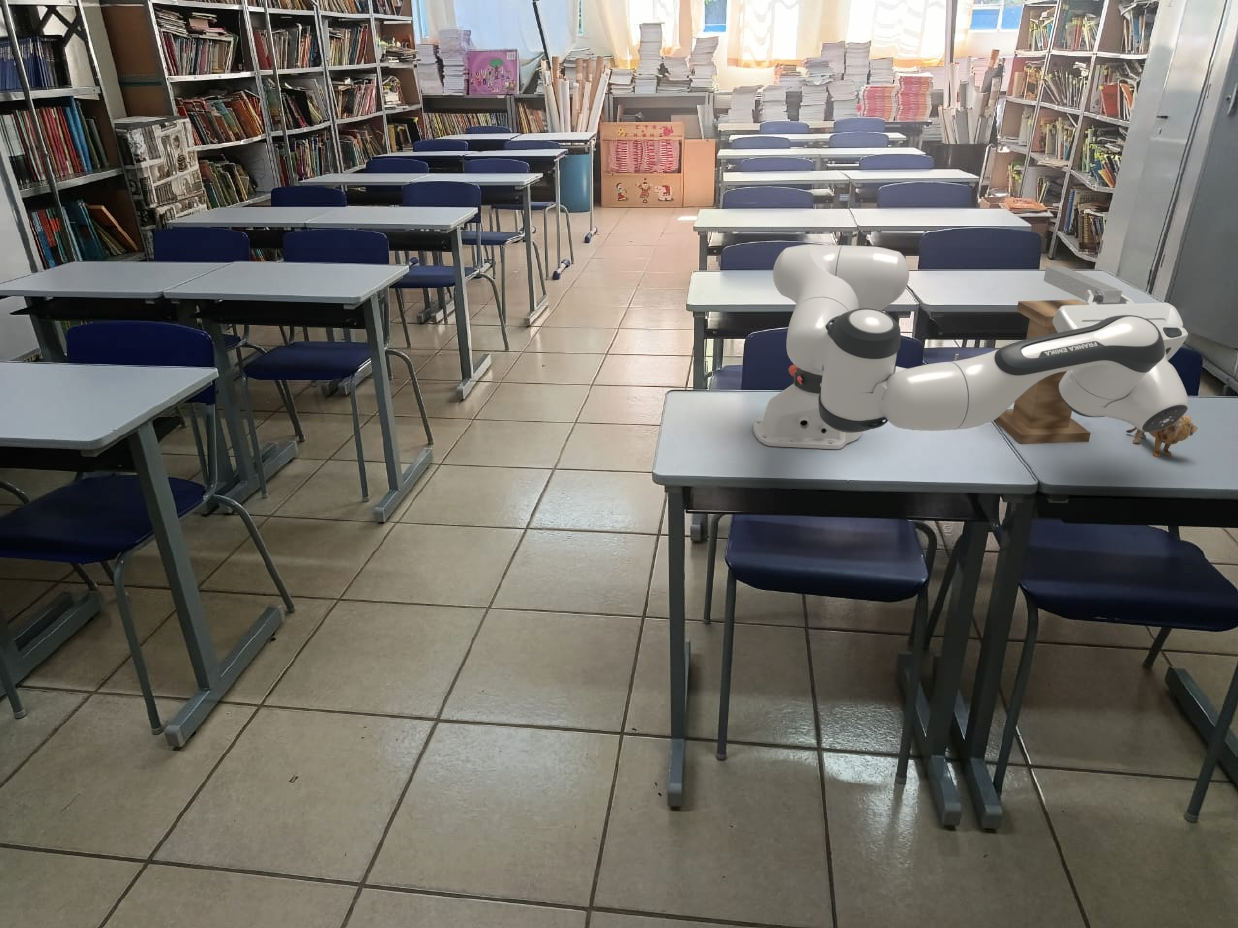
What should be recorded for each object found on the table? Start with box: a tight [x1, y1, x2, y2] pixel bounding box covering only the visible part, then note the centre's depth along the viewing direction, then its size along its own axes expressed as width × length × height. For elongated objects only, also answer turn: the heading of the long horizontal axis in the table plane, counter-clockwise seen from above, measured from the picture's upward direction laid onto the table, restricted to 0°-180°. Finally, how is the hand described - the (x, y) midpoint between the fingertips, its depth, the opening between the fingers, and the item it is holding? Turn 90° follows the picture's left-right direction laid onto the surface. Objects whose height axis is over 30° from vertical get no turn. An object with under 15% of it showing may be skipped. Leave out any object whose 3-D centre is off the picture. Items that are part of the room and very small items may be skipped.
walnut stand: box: [992, 299, 1091, 445], centre depth 169 cm, size 14×14×26 cm
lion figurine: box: [1125, 414, 1199, 458], centre depth 162 cm, size 15×5×9 cm, turn 10°
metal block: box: [1043, 265, 1123, 305], centre depth 157 cm, size 3×22×3 cm, turn 0°
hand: (1101, 292), depth 150 cm, fingers closed on metal block, 3 cm apart
